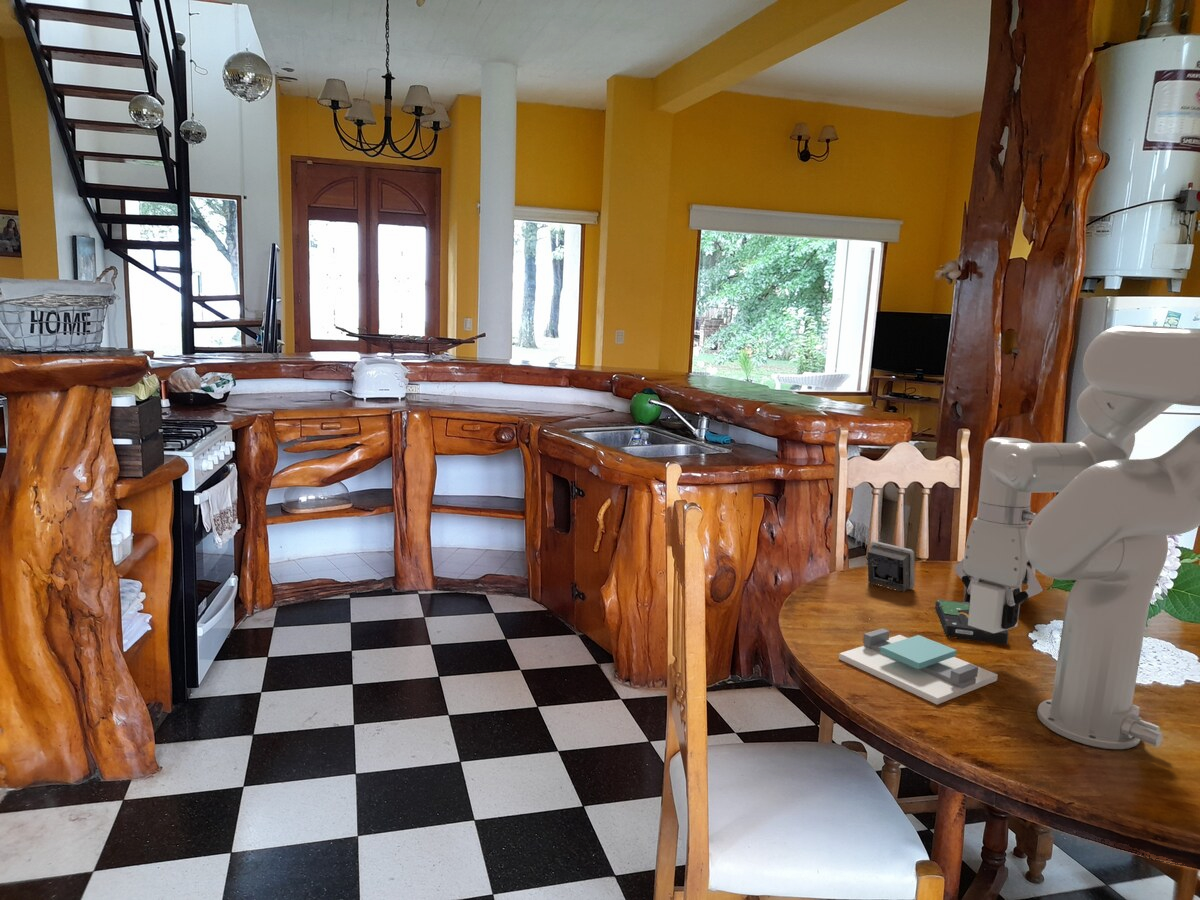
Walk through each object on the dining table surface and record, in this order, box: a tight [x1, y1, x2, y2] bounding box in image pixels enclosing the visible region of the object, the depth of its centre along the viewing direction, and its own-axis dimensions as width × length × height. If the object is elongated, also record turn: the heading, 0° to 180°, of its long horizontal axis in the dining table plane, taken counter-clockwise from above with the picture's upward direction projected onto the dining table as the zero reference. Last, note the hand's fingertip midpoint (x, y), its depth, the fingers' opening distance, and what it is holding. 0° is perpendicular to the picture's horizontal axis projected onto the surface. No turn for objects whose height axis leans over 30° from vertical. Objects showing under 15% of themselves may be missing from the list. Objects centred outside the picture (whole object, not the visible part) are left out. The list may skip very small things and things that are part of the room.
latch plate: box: [880, 634, 958, 669], centre depth 132 cm, size 7×10×1 cm
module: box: [968, 581, 1023, 633], centre depth 136 cm, size 5×7×7 cm
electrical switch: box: [866, 540, 916, 593], centre depth 172 cm, size 9×5×9 cm, turn 47°
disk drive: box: [934, 598, 1010, 646], centre depth 153 cm, size 10×3×15 cm
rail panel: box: [838, 627, 999, 705], centre depth 132 cm, size 18×16×3 cm
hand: (992, 621), depth 136 cm, fingers closed on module, 4 cm apart
